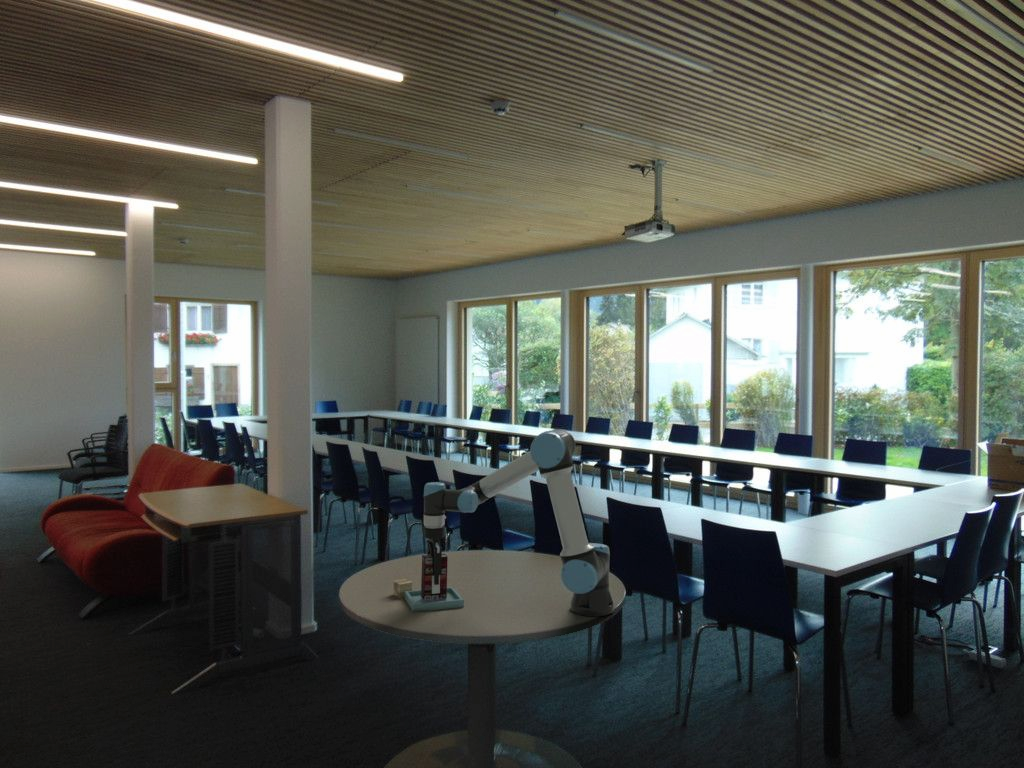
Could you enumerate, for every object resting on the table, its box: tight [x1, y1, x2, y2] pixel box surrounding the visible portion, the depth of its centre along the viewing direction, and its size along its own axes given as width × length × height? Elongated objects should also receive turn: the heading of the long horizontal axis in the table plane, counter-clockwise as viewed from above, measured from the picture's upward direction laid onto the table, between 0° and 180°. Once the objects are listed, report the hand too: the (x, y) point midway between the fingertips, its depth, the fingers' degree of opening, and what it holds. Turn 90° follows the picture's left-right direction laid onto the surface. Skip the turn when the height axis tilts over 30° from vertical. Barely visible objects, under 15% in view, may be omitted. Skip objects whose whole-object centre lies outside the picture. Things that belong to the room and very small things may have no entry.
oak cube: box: [393, 578, 413, 599], centre depth 276 cm, size 5×5×5 cm
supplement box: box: [420, 553, 449, 602], centre depth 268 cm, size 9×5×16 cm, turn 109°
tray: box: [404, 586, 465, 613], centre depth 268 cm, size 16×18×2 cm
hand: (433, 590), depth 268 cm, fingers open, 5 cm apart
